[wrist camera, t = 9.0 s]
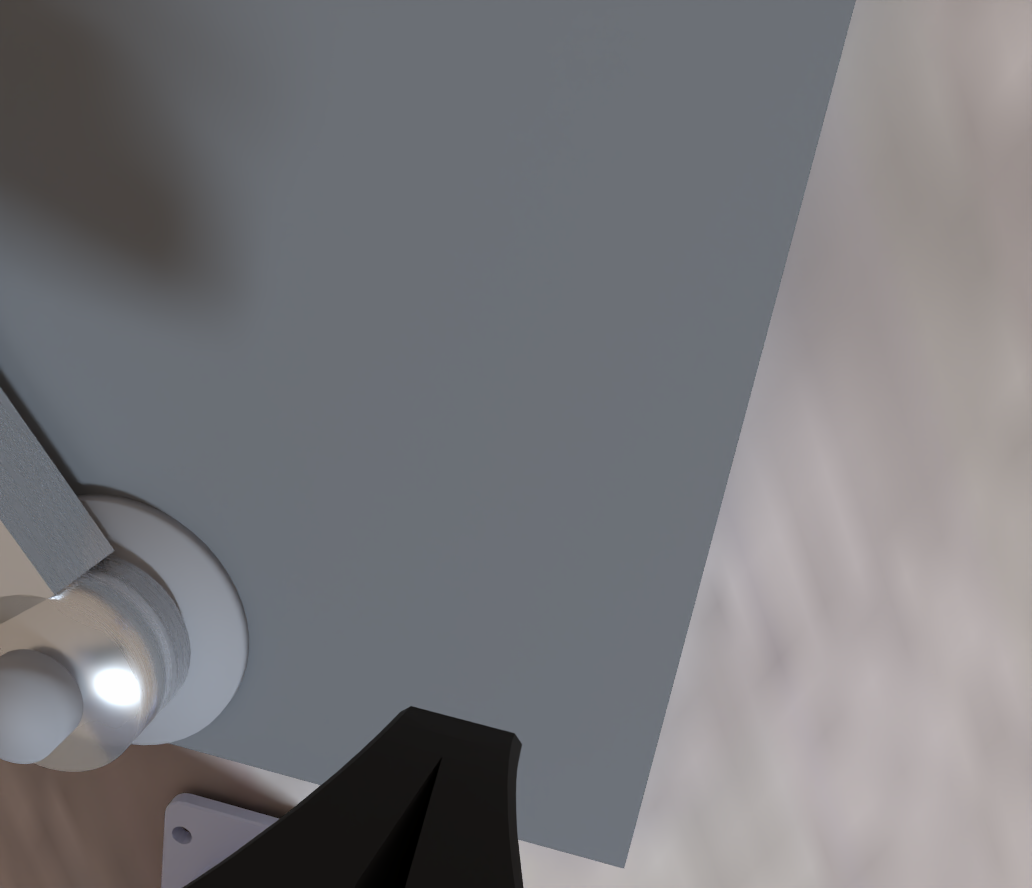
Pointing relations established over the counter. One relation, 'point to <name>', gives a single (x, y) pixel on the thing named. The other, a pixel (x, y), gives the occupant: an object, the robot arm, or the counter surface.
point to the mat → (403, 352)
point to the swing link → (81, 605)
